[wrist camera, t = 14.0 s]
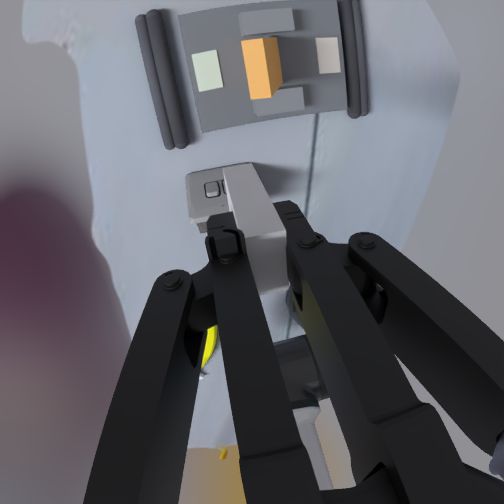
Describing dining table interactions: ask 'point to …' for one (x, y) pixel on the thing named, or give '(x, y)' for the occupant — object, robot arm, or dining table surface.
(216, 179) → the electrical switch
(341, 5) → the cable bundle
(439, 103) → the dining table surface
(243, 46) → the lever
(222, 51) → the breaker panel
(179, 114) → the cable bundle
